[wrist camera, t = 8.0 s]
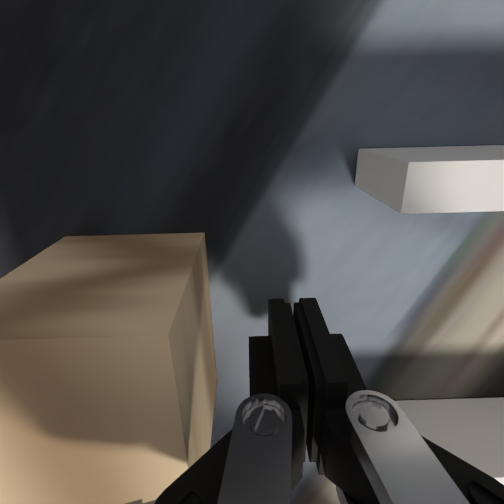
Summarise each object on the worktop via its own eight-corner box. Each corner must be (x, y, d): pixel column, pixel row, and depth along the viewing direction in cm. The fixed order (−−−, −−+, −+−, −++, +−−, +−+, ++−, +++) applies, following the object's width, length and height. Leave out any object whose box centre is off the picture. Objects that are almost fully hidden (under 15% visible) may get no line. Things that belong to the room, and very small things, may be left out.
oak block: (204, 231, 12) (168, 334, 6) (217, 380, 14) (199, 545, 9) (66, 235, 12) (-99, 343, 6) (104, 383, 14) (15, 552, 9)
